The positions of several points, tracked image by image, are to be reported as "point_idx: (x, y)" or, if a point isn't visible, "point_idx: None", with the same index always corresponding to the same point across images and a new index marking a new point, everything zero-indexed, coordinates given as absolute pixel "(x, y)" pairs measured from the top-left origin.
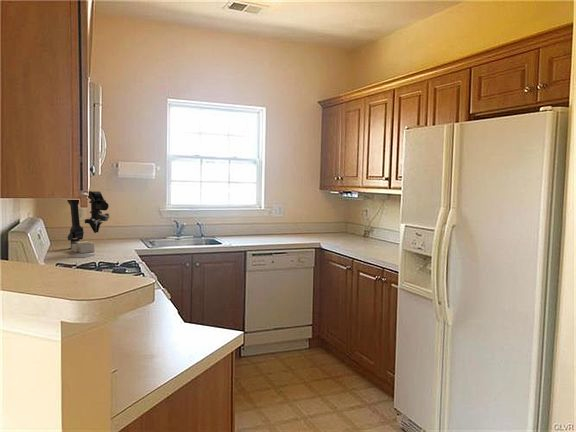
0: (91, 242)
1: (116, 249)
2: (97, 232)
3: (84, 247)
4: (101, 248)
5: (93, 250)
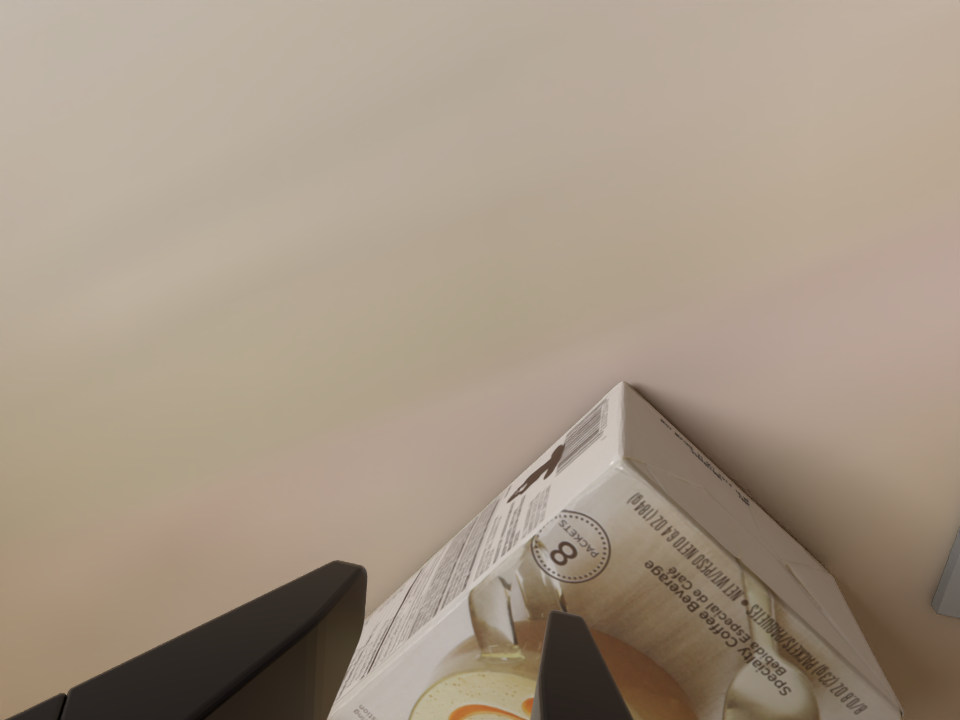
0: (530, 558)
1: (198, 32)
2: (365, 579)
3: (813, 597)
4: (147, 402)
5: (636, 401)
